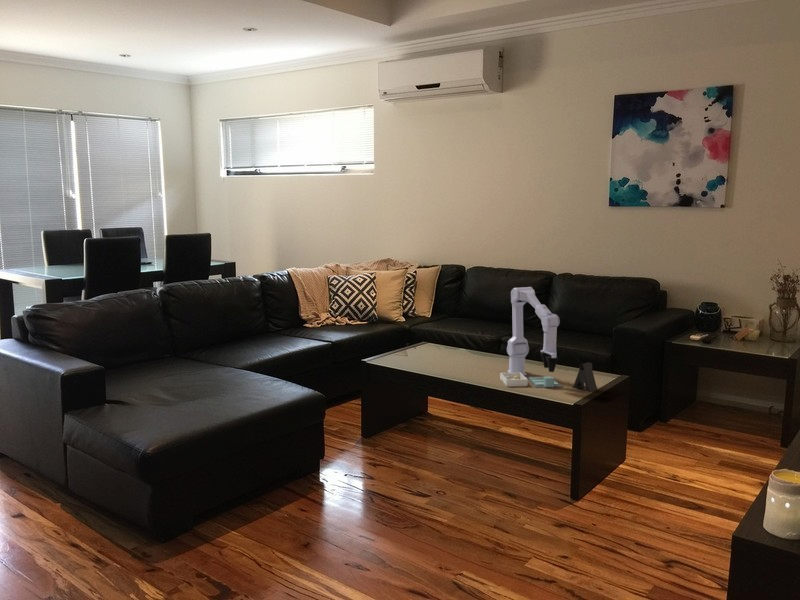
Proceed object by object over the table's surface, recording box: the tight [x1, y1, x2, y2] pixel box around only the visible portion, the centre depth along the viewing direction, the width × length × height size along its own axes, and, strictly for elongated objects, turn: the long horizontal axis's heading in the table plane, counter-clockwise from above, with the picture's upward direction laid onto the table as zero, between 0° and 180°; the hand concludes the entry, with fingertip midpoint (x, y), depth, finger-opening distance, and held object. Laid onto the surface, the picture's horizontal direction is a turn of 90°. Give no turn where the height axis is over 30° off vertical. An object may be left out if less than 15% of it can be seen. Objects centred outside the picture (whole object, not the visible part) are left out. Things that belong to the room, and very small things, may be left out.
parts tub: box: [499, 372, 529, 387], centre depth 320 cm, size 13×10×3 cm
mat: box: [525, 376, 564, 389], centre depth 321 cm, size 18×13×1 cm
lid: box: [528, 375, 559, 388], centre depth 319 cm, size 17×11×4 cm, turn 4°
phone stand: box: [572, 361, 598, 393], centre depth 309 cm, size 9×6×12 cm, turn 40°
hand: (549, 369), depth 312 cm, fingers open, 7 cm apart
